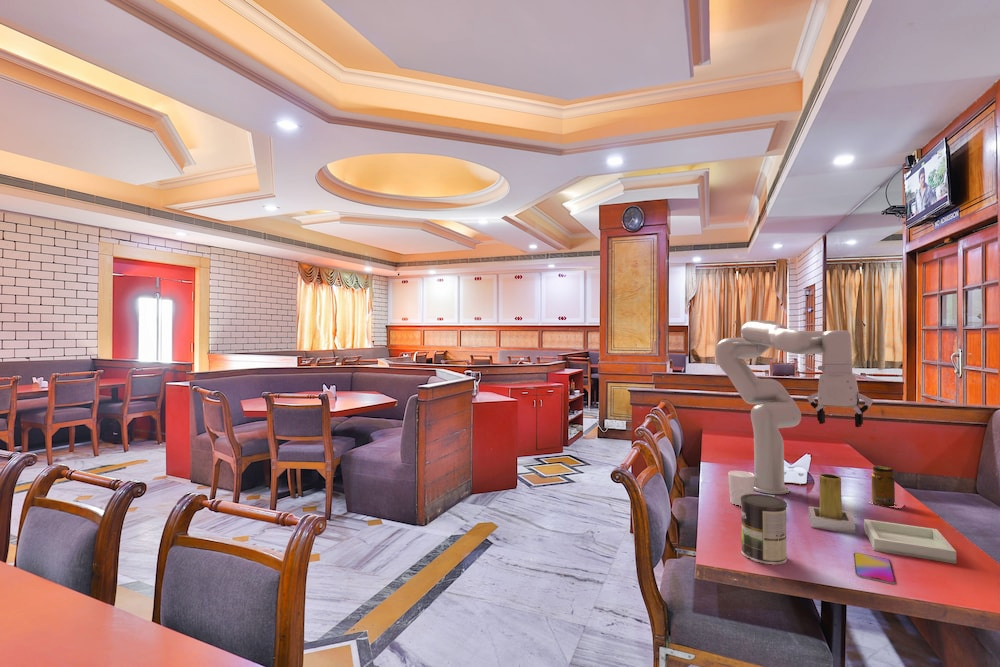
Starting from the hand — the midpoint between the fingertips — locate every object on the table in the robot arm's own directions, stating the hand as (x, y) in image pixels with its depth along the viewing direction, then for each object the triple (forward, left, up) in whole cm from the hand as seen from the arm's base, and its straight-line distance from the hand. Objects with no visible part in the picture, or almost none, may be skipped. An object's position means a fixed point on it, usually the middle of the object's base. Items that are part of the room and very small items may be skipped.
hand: (839, 425), depth 153 cm
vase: (-4, -11, -28) cm, 30 cm away
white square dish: (-4, -11, -28) cm, 30 cm away
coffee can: (-21, -44, -28) cm, 56 cm away
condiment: (+14, +19, -28) cm, 37 cm away
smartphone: (+2, -39, -29) cm, 48 cm away
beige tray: (+12, -19, -28) cm, 36 cm away
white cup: (-28, -3, -28) cm, 40 cm away
